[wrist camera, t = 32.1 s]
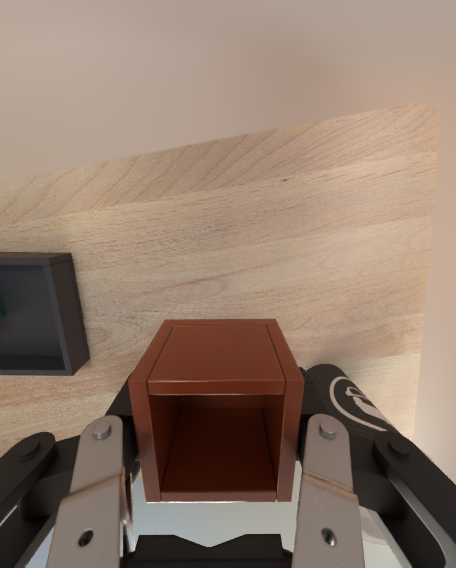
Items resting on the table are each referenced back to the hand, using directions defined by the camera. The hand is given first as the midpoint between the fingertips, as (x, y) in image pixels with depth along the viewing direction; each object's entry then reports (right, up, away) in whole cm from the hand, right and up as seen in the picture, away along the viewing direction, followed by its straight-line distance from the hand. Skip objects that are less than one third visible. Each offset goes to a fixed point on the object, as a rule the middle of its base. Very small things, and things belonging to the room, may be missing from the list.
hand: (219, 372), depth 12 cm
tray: (-27, +1, +18) cm, 32 cm away
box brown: (0, 0, +1) cm, 1 cm away
